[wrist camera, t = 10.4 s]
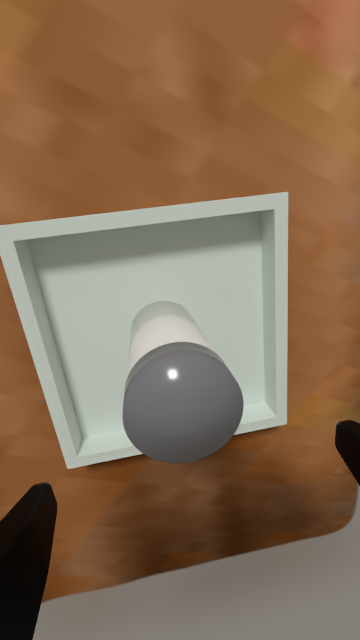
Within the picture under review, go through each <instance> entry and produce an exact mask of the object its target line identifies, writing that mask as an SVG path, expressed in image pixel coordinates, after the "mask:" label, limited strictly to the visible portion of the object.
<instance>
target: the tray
mask: <svg viewBox="0 0 360 640" xmlns="http://www.w3.org/2000/svg"><path fill="white" fill-rule="evenodd" d="M0 256H1V259H2V262H3V265H4V268H5V272H6V275H7V278H8V281H9V284H10V287H11V291H12V294H13V297H14V300H15V303H16V307H17V310H18V313H19V316H20V319H21V322H22V326H23V329H24V332H25V335H26V338H27V342H28V345H29V348H30V351H31V354H32V357H33V361H34V364H35V367H36V370H37V373H38V376H39V380H40V383H41V386H42V389H43V392H44V396H45V399H46V402H47V405H48V408H49V411H50V415H51V418H52V421H53V424H54V427H55V431H56V434H57V437H58V440H59V443H60V446H61V450H62V453H63V456H64V459H65V462H66V465H67V469H71V468H76V467H81V466H86V465H90V464H95V463H100V462H105V461H110V460H115V459H120V458H124V457H129V456H134V455H139V454H143V453H142V452H140V451H139V450H138V449H137V448H136V447H135V446H134V445H133V444H132V443H131V441H130V440H129V438H128V436H127V434H126V432H125V429H124V426H123V419H122V416H123V400H124V388H125V383H126V380H127V377H128V362H129V346H130V330H131V325H132V322H133V319H134V317H135V316H136V314H137V313H138V312H139V311H140V310H141V309H142V308H143V307H145V306H146V305H148V304H150V303H153V302H157V301H171V302H175V303H178V304H180V305H181V306H183V307H184V308H185V309H187V310H188V312H189V313H190V314H191V316H192V317H193V319H194V320H195V322H196V323H197V325H198V327H199V328H200V330H201V331H202V333H203V334H204V336H205V337H206V339H207V341H208V342H209V344H210V345H211V347H212V348H213V350H214V351H215V353H216V354H217V355H219V357H220V358H221V359H222V360H223V361H224V363H225V364H226V366H227V367H228V369H229V370H230V372H231V373H232V375H233V376H234V378H235V379H236V381H237V382H238V384H239V386H240V389H241V392H242V395H243V402H244V406H243V415H242V418H241V422H240V424H239V426H238V428H237V430H236V432H235V433H234V435H236V434H241V433H246V432H251V431H256V430H261V429H266V428H270V427H275V426H280V425H285V424H287V305H288V192H283V193H274V194H266V195H257V196H249V197H240V198H231V199H223V200H214V201H206V202H197V203H189V204H180V205H171V206H163V207H154V208H146V209H137V210H129V211H120V212H112V213H103V214H94V215H86V216H77V217H69V218H60V219H52V220H43V221H35V222H26V223H17V224H9V225H0Z"/></svg>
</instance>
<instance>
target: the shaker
mask: <svg viewBox="0 0 360 640" xmlns="http://www.w3.org/2000/svg"><path fill="white" fill-rule="evenodd" d="M243 406H244V402H243V395H242V392H241V389H240V386H239V384H238V382H237V381H236V379H235V378H234V376H233V375H232V373H231V372H230V370H229V369H228V367H227V366H226V364H225V363H224V361H223V360H222V359H221V358H220V357H219V355H217V354H216V353H215V351H214V350H213V348H212V347H211V345H210V344H209V342H208V341H207V339H206V337H205V336H204V334H203V333H202V331H201V330H200V328H199V327H198V325H197V323H196V322H195V320H194V319H193V317H192V316H191V314H190V313H189V312H188V310H187V309H185V308H184V307H183V306H181V305H180V304H178V303H175V302H171V301H157V302H153V303H150V304H148V305H146V306H145V307H143V308H142V309H141V310H140V311H139V312H138V313H137V314H136V316H135V317H134V319H133V322H132V325H131V330H130V346H129V362H128V377H127V380H126V383H125V388H124V400H123V416H122V419H123V426H124V429H125V432H126V434H127V436H128V438H129V440H130V441H131V443H132V444H133V445H134V446H135V447H136V448H137V449H138V450H139V451H140V452H142V453H143V454H145V455H146V456H148V457H150V458H153V459H155V460H158V461H162V462H167V463H186V462H192V461H196V460H199V459H202V458H205V457H207V456H209V455H211V454H213V453H214V452H216V451H217V450H219V449H220V448H221V447H223V446H224V445H225V444H226V443H227V442H228V441H229V440H230V439H231V437H232V436H233V435H234V433H235V432H236V430H237V428H238V426H239V424H240V422H241V418H242V415H243Z"/></svg>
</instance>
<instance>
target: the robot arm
mask: <svg viewBox="0 0 360 640" xmlns="http://www.w3.org/2000/svg"><path fill="white" fill-rule="evenodd" d="M335 445H336V448H337V450H338V452H339V454H340V455H341V457H342V458H343V460H344V462H345V463H346V465H347V466H348V468H349V470H350V471H351V473H352V474H353V476H354V478H355V479H356V481H357V482H358V484H359V486H360V424H359V423H357V422H354V421H352V420H345V421H340V422H338V423H337V424H336V435H335ZM56 515H57V502H56V499H55V496H54V493H53V490H52V487H51V485H50V483H49V482H44V483H39V484H35V485H33V486H32V487H31V488H30V489H29V490H28V491H27V492H26V494H25V495H24V496H23V497H22V498H21V499H20V500H19V501H18V502H17V504H16V505H15V506H14V507H13V508H12V509H11V510H10V511H9V512H8V513H7V515H6V516H5V517H4V518H3V519H2V520H1V521H0V640H32V639H33V634H34V631H35V626H36V622H37V618H38V614H39V610H40V605H41V601H42V597H43V593H44V589H45V584H46V580H47V575H48V570H49V564H50V557H51V550H52V543H53V536H54V529H55V522H56Z"/></svg>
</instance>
